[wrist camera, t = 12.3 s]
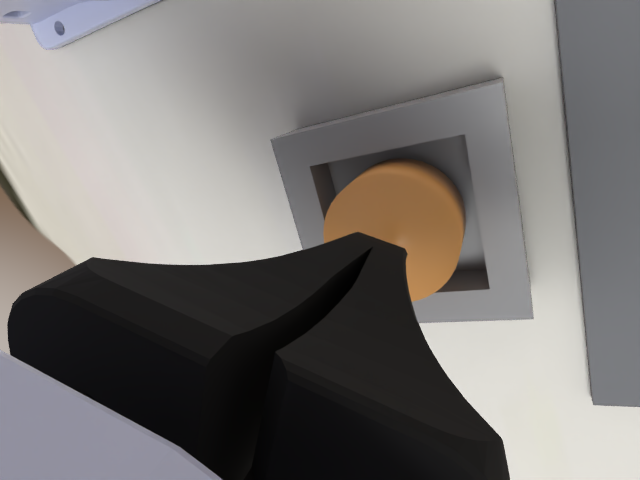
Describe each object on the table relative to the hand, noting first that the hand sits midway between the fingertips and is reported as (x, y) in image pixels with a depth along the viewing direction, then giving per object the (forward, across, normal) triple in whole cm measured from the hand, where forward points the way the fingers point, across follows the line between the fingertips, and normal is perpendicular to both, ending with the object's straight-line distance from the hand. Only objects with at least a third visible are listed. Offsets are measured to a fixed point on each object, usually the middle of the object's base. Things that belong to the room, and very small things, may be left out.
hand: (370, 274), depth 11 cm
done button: (+4, 0, 0) cm, 4 cm away
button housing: (+5, 0, 0) cm, 5 cm away
